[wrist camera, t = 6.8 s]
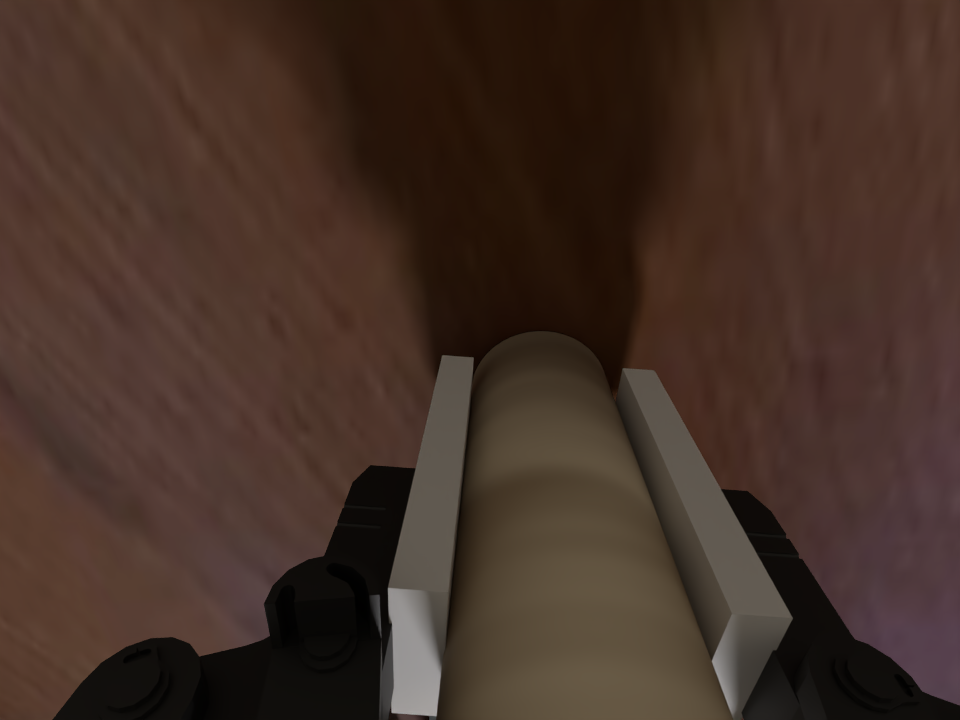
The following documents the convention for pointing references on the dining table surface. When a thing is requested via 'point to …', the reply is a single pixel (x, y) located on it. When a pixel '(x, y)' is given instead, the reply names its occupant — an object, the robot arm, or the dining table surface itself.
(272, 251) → the dining table surface
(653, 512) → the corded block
